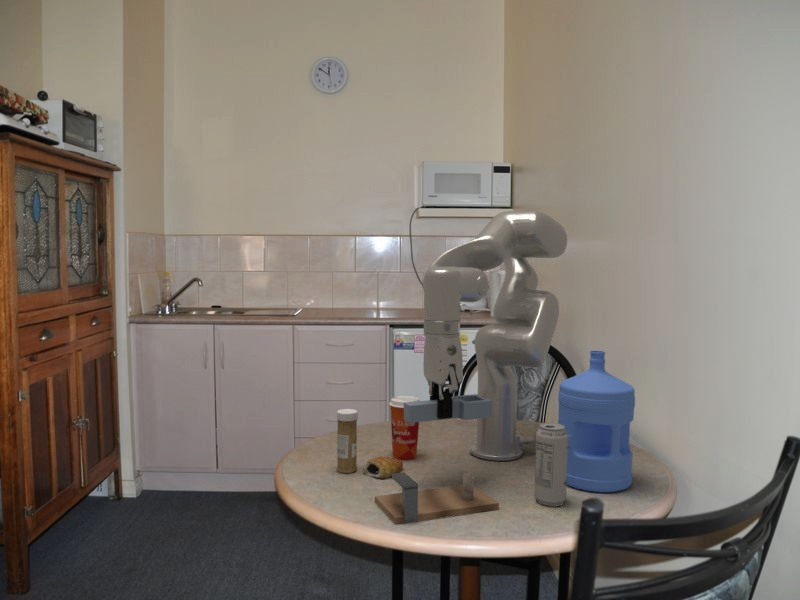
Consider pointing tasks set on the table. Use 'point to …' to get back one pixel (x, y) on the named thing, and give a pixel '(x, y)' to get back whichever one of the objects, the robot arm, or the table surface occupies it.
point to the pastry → (382, 467)
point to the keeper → (408, 496)
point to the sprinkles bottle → (347, 440)
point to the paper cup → (403, 430)
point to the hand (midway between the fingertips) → (440, 415)
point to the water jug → (597, 428)
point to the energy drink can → (551, 464)
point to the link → (462, 408)
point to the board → (440, 501)
